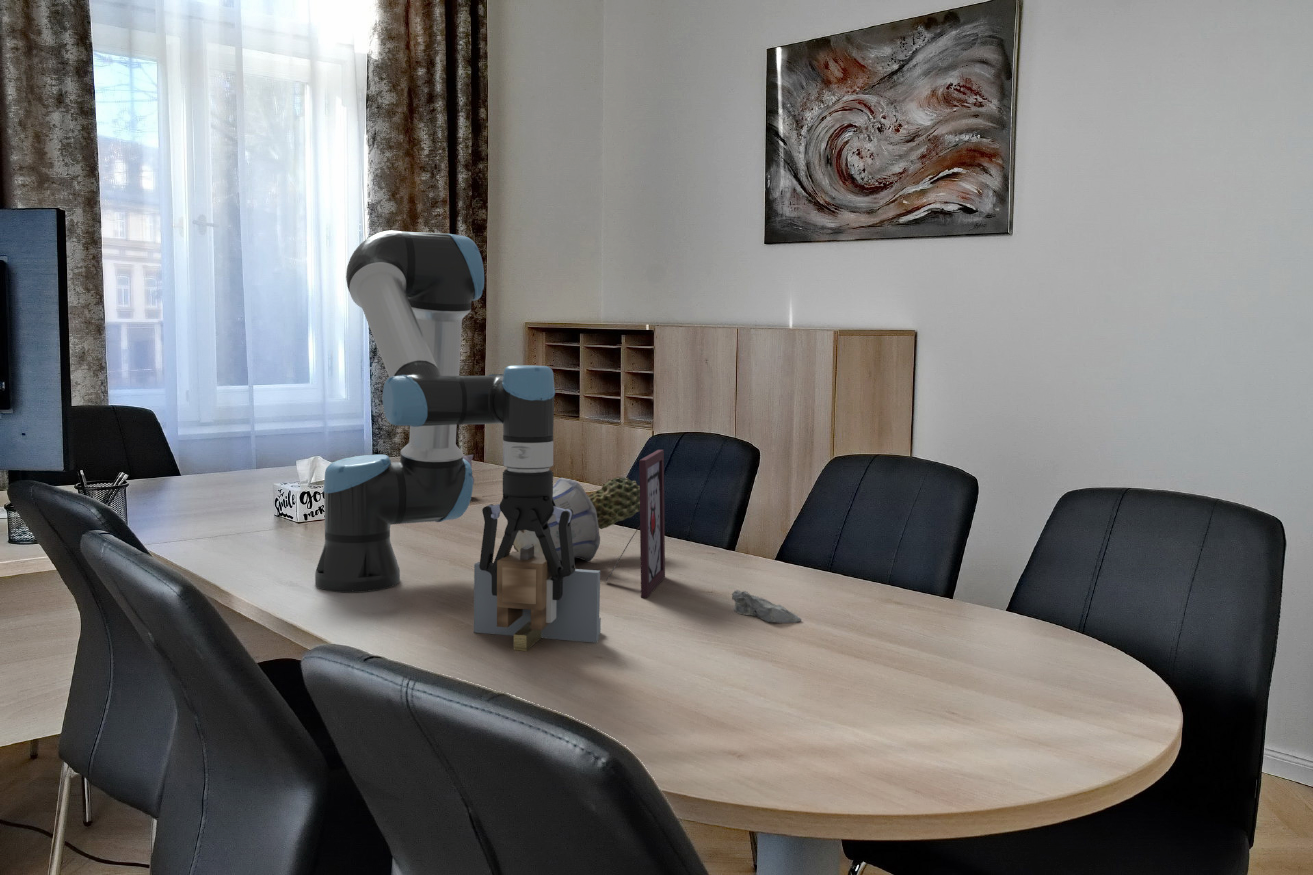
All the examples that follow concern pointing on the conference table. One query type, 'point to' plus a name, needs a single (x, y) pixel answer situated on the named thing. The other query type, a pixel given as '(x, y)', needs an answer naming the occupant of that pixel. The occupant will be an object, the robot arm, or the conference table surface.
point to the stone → (762, 608)
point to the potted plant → (587, 514)
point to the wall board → (572, 610)
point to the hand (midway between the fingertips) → (526, 618)
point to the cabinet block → (522, 587)
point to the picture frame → (651, 522)
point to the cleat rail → (526, 637)
